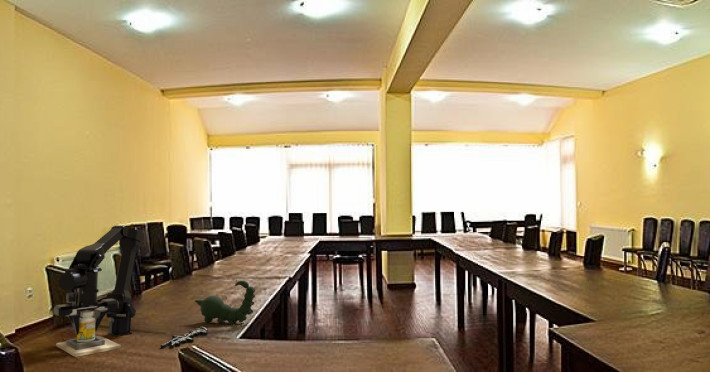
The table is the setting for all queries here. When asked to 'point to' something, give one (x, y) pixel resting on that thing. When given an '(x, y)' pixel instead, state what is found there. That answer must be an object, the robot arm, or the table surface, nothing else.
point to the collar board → (88, 346)
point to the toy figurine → (227, 307)
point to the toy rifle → (185, 338)
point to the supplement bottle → (86, 327)
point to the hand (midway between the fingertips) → (86, 332)
